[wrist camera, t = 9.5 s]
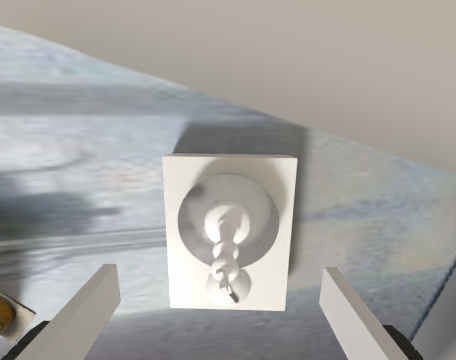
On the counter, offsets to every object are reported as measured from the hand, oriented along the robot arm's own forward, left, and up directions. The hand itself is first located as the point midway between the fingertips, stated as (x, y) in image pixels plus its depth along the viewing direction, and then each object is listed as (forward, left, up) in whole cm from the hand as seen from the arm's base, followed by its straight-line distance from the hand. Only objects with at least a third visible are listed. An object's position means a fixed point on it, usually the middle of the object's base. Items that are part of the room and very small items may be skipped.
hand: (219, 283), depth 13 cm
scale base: (+3, 0, -16) cm, 16 cm away
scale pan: (0, 0, -11) cm, 11 cm away
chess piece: (0, 0, -10) cm, 10 cm away
